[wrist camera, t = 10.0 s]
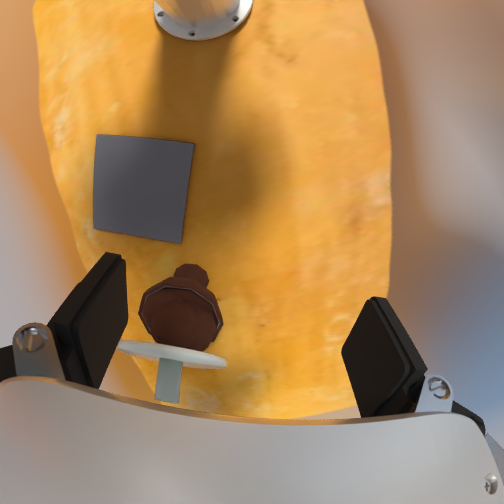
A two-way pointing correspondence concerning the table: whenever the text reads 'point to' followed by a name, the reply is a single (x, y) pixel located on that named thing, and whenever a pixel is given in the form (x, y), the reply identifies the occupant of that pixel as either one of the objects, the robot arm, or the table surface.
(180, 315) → the ice cream bowl
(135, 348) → the lid
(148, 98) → the table surface
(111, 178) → the mat
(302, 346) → the table surface
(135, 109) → the table surface
